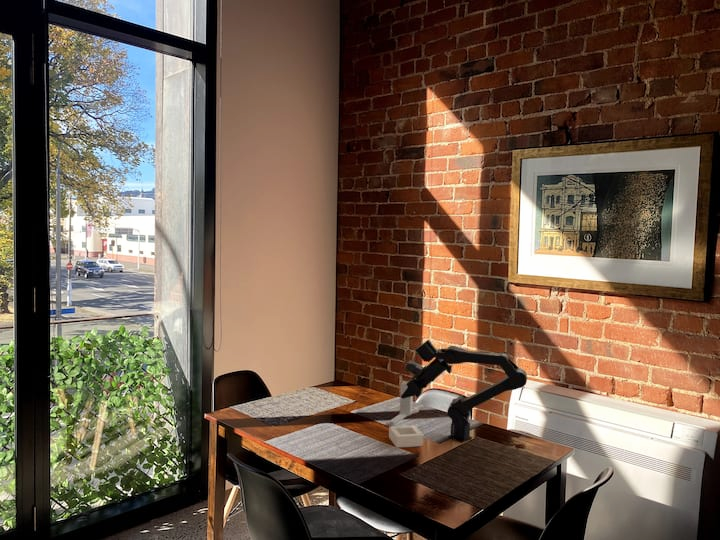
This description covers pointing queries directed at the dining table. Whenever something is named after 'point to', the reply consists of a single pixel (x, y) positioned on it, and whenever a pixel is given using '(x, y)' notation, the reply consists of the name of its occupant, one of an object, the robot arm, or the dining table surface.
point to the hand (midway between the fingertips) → (403, 396)
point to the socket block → (406, 436)
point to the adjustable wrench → (401, 417)
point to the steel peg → (405, 401)
